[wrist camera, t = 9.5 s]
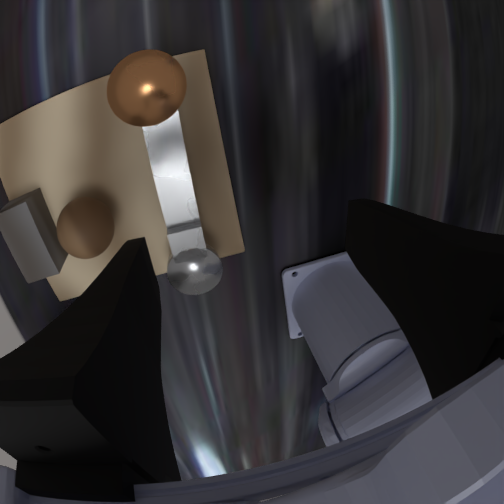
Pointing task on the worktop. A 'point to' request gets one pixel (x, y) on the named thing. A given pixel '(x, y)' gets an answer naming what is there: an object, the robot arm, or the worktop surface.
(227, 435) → the worktop surface
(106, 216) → the brown ball
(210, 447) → the worktop surface
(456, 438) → the robot arm
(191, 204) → the lever
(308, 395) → the worktop surface
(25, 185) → the beige square panel
